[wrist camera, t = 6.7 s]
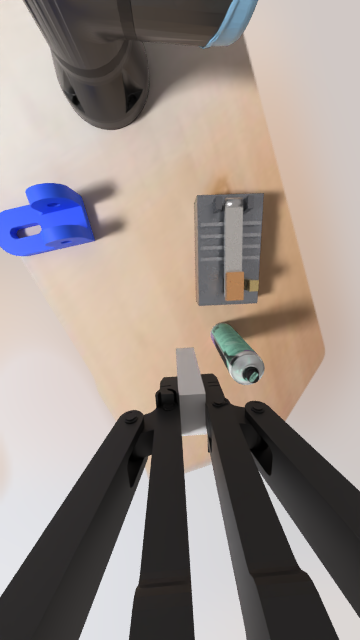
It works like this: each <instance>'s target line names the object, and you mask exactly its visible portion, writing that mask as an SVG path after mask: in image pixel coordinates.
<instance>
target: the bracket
mask: <svg viewBox="0 0 360 640" xmlns="http://www.w3.org/2000/svg"><path fill="white" fill-rule="evenodd" d="M26 195H27V198H28V200H29V203H30V205H26V206H22V207H18V208H14V209H9V210H5V211H3V212H1V213H0V247H1V248H2V249H3V250H5V251H6V252H8V253H10V254H12V255H16V256H31V255H35V254H40V253H44V252H49V251H53V250H57V249H62V248H66V247H70V246H75V245H79V244H84V243H88V242H92V241H95V239H94V236H93V232H92V229H91V226H90V223H89V219H88V216H87V213H86V209H85V206H84V203H83V200H82V197H81V196H80V195H79V194H77V193H76V192H74V191H73V190H72V189H70V188H69V187H67V186H65V185H62V184H56V183H44V184H37V185H34V186H31V187H29V188H28V189H27V190H26ZM36 225H40V226H41V228H42V231H41V232H40V234H37V235H33V236H28V237H24V238H20V239H19V238H18V236H17V231H18V230H19V229H23V228H28V227H32V226H36Z"/></svg>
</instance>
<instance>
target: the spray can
mask: <svg viewBox="0 0 360 640" xmlns="http://www.w3.org/2000/svg"><path fill="white" fill-rule="evenodd" d="M211 338H212V341H213V343H214V344H215V346H216V348H217V350H218V352H219V354H220V356H221V358H222V360H223V362H224V363H225V365H226V367H227V369H228V371H229V373H230V375H231V376H232V378H233V379H234V380H235V381H236V382H237V383H239V384H242V385H250V384H253V383H256V382H257V381H258V380H259V379H260V378H261V377H262V375H263V373H264V369H265V368H264V363H263V361H262V359H261V358H260V357H259V356H258V355H257V353H256V352H255V351H254V350H253V349H252V348H251V347H250V346H249V345H248V344H247V343H246V342H245V341H244V340H243V339H242V337H241V336H240V335H239V334H238V333H237V332H236V331H235V330H234V329H233V328H232V327H231V326H230V325H229V324H227V323H218V324H216V325H215V326H214V327H213V328H212V330H211Z"/></svg>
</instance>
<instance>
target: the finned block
mask: <svg viewBox="0 0 360 640" xmlns="http://www.w3.org/2000/svg"><path fill="white" fill-rule="evenodd" d="M263 197H264V193H259V194H227V195H197V197H196V200H195V202H194V220H195V273H196V302H197V304H198V305H199V306H205V305H227V304H248V303H257V299H258V287H259V265H260V248H261V231H262V214H263ZM225 198H243V232H242V272H244V300H235V301H226V300H225V297H224V201H225Z"/></svg>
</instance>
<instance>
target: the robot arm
mask: <svg viewBox="0 0 360 640" xmlns="http://www.w3.org/2000/svg"><path fill="white" fill-rule="evenodd" d="M23 1H24V3H25V5H26V6H27V8H28V10H29V12H30V13H31V15H32V17H33V19H34V20H35V22H36V24H37V26H38V27H39V29H40V31H41V33H42V34H43V36H44V38H45V40H46V41H47V43H48V45H49V47H50V50H51V54H52V58H53V62H54V67H55V71H56V75H57V78H58V81H59V84H60V86H61V89H62V91H63V93H64V94H65V96H66V98H67V99H68V101H69V103H70V104H71V106H72V107H73V109H74V110H75V111H76V112H77V114H78V115H79V116H80V117H81V118H82V119H84V120H85V121H86V122H88V123H89V124H91V125H93V126H95V127H98V128H101V129H107V130H114V129H119V128H122V127H124V126H126V125H128V124H130V123H131V122H132V121H134V120H135V119H136V118H137V116H138V115H139V114H140V112H141V111H142V109H143V107H144V105H145V102H146V100H147V96H148V91H149V70H148V62H147V56H146V52H145V48H144V45H143V42H156V43H168V44H180V45H192V46H199V47H200V48H202V49H205V48H209V47H210V46H229V45H231V44H233V43H234V42H235V41H237V40H238V39H239V38H240V36H241V35H242V33H243V32H244V30H245V29H246V27H247V25H248V23H249V21H250V18H251V17H252V14H253V12H254V9H255V7H256V4H257V1H258V0H23ZM142 41H143V42H142ZM176 359H177V377H164V378H163V379H162V380H161V382H160V390H158V391H157V392H156V394H155V397H156V409H155V410H154V411H153V412H151V413H148V414H145V415H143V414H142V413H141V412H140V411H137V410H131V411H128V412H126V413H124V414H122V415H121V416H120V417H119V419H118V420H117V422H116V423H115V425H114V426H113V428H112V430H111V431H110V433H109V434H108V436H107V437H106V439H105V440H104V442H103V443H102V445H101V446H100V448H99V449H98V451H97V452H96V454H95V455H94V457H93V458H92V460H91V461H90V463H89V464H88V466H87V467H86V469H85V471H84V472H83V473H82V475H81V476H80V478H79V479H78V481H77V482H76V484H75V485H74V487H73V488H72V490H71V491H70V493H69V494H68V496H67V498H66V499H65V501H64V502H63V504H62V505H61V507H60V508H59V510H58V511H57V512H56V514H55V516H54V517H53V519H52V520H51V522H50V523H49V525H48V526H47V528H46V529H45V531H44V532H43V534H42V535H41V537H40V538H39V540H38V541H37V543H36V544H35V546H34V547H33V549H32V550H31V552H30V553H29V555H28V556H27V558H26V559H25V561H24V562H23V564H22V565H21V567H20V569H19V570H18V572H17V573H16V574H15V576H14V577H13V579H12V580H11V582H10V584H9V585H8V586H7V588H6V589H5V591H4V592H3V594H2V595H1V597H0V640H79V637H80V634H81V632H82V629H83V627H84V624H85V622H86V619H87V616H88V613H89V611H90V608H91V606H92V603H93V600H94V598H95V595H96V593H97V590H98V587H99V585H100V582H101V580H102V577H103V574H104V572H105V569H106V566H107V564H108V561H109V559H110V556H111V554H112V551H113V548H114V546H115V543H116V541H117V538H118V535H119V533H120V530H121V527H122V525H123V522H124V519H125V517H126V514H127V512H128V509H129V506H130V504H131V501H132V499H133V496H134V493H135V491H136V488H137V486H138V483H139V480H140V478H141V475H142V473H143V470H144V467H145V465H146V462H147V459H148V456H149V455H152V458H151V469H150V479H149V489H148V500H147V510H146V519H145V530H144V539H143V550H142V560H141V570H140V579H139V584H138V586H137V588H136V591H135V595H134V601H133V609H132V617H131V627H130V635H129V640H195V637H194V621H193V605H192V590H191V575H190V558H189V542H188V527H187V511H186V495H185V479H184V463H183V448H182V436H189V435H202V434H207V433H208V452H210V455H211V460H212V465H213V470H214V475H215V480H216V485H217V490H218V495H219V500H220V505H221V510H222V515H223V520H224V525H225V530H226V535H227V540H228V545H229V550H230V555H231V560H232V565H233V570H234V575H235V580H236V585H237V590H238V595H239V600H240V605H241V610H242V615H243V620H244V625H245V631H246V637H247V640H339V638H338V636H337V634H336V632H335V629H334V627H333V625H332V623H331V620H330V618H329V616H328V614H327V611H326V609H325V607H324V605H323V602H322V600H321V598H320V595H319V593H318V591H317V589H316V587H315V586H314V583H313V581H312V580H311V578H310V577H309V575H308V574H307V573H306V572H304V571H303V570H301V569H300V567H299V566H298V564H297V562H296V560H295V557H294V555H293V553H292V550H291V548H290V545H289V543H288V541H287V538H286V536H285V533H284V531H283V529H282V526H281V524H280V522H279V519H278V516H277V514H276V512H275V509H274V507H273V505H272V502H271V500H270V497H269V495H268V492H267V490H266V488H265V485H264V483H263V480H262V478H261V476H260V473H261V474H262V476H263V478H264V479H265V481H266V482H267V483H268V485H269V486H270V488H271V489H272V491H273V492H274V494H275V495H276V497H277V498H278V499H279V501H280V502H281V504H282V505H283V507H284V508H285V510H286V511H287V513H288V514H289V515H290V517H291V518H292V520H293V521H294V523H295V524H296V526H297V527H298V529H299V530H300V532H301V533H302V534H303V536H304V537H305V539H306V540H307V542H308V543H309V545H310V546H311V548H312V549H313V550H314V552H315V553H316V555H317V556H318V558H319V559H320V561H321V562H322V563H323V565H324V567H325V568H326V569H327V571H328V572H329V574H330V575H331V577H332V578H333V579H334V581H335V583H336V584H337V585H338V587H339V588H340V590H341V591H342V593H343V594H344V596H345V597H346V598H347V600H348V601H349V603H350V604H351V606H352V607H353V609H354V610H355V612H356V613H357V615H358V616H359V618H360V491H359V490H358V489H356V487H355V486H353V485H352V484H351V483H350V482H349V481H348V480H347V479H346V478H345V477H344V476H343V475H342V474H341V473H340V472H338V471H337V470H336V469H335V468H334V467H333V466H332V465H331V464H330V463H329V462H328V461H327V460H326V459H325V458H323V457H322V456H321V455H320V454H319V453H318V452H317V451H316V450H315V449H314V448H313V447H312V446H311V445H309V444H308V443H307V442H306V441H305V440H304V439H303V438H302V437H301V436H300V435H299V434H298V433H297V432H296V431H295V430H293V429H292V428H291V427H290V426H289V425H288V424H287V423H286V422H285V421H284V420H283V419H282V418H281V417H280V416H278V415H277V414H276V413H275V412H274V411H273V410H272V409H271V408H270V407H269V406H268V405H266V404H265V403H262V402H260V401H250V402H248V403H246V405H245V407H238V406H234V405H232V404H230V402H229V400H228V399H226V398H225V397H224V394H223V392H222V389H221V387H220V384H219V382H218V379H217V377H216V376H215V375H213V374H200V370H199V367H198V363H197V359H196V355H195V351H194V347H192V348H177V349H176ZM206 429H207V430H206ZM258 470H259V471H258ZM259 472H260V473H259Z"/></svg>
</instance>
